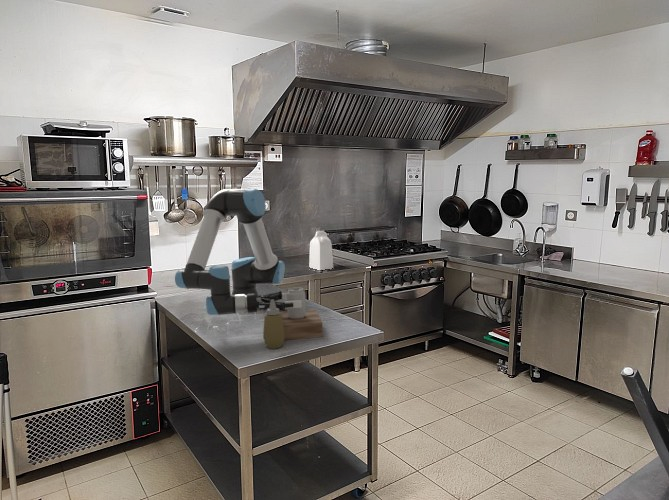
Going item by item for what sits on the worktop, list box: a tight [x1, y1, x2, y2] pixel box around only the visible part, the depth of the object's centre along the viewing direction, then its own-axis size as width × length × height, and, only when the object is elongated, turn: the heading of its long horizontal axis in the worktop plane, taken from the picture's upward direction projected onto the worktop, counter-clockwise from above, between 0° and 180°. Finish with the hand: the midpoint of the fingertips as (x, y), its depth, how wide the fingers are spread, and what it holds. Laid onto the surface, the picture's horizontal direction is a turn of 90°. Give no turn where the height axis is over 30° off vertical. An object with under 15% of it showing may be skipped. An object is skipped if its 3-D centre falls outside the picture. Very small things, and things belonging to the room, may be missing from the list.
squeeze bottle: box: [262, 299, 285, 349], centre depth 178 cm, size 8×8×18 cm
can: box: [286, 286, 307, 319], centre depth 194 cm, size 8×8×12 cm
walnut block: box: [279, 309, 324, 341], centre depth 196 cm, size 18×18×6 cm
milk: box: [308, 230, 334, 271], centre depth 324 cm, size 12×12×26 cm
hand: (299, 299), depth 194 cm, fingers open, 13 cm apart
